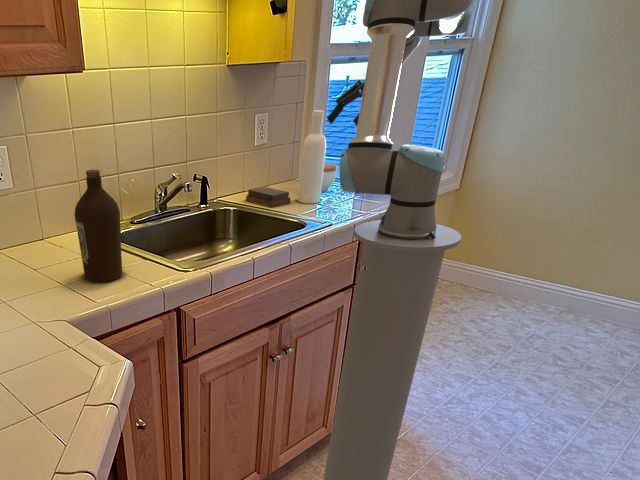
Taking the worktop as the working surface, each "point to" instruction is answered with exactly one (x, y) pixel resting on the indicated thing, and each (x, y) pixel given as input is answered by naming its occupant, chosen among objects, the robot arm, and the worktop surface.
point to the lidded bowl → (328, 176)
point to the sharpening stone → (268, 197)
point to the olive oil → (99, 231)
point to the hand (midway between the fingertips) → (341, 122)
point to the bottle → (313, 161)
